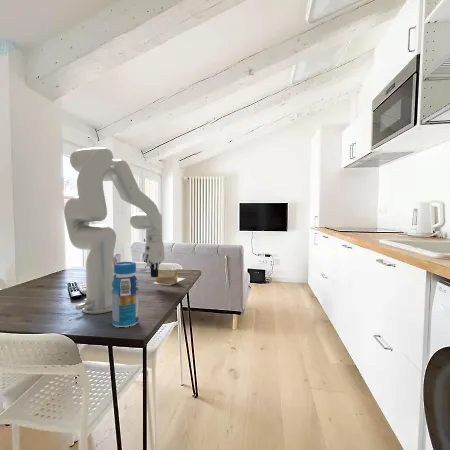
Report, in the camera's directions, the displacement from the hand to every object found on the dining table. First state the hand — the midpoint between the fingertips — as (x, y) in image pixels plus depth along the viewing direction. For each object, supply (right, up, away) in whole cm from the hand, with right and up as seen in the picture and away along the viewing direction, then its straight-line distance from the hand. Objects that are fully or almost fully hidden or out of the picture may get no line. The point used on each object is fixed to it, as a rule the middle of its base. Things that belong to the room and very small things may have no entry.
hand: (154, 276), depth 141 cm
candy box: (-21, -6, -3) cm, 22 cm away
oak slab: (+4, -5, +10) cm, 12 cm away
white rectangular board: (+5, -5, +14) cm, 16 cm away
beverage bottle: (+1, -8, -45) cm, 46 cm away
